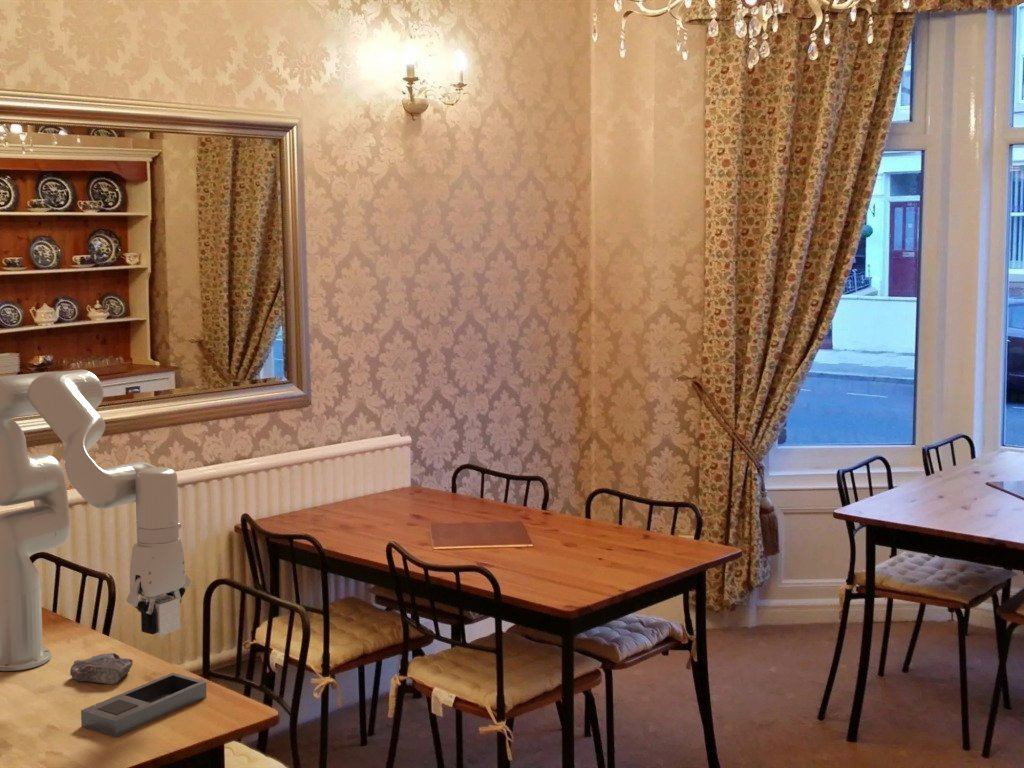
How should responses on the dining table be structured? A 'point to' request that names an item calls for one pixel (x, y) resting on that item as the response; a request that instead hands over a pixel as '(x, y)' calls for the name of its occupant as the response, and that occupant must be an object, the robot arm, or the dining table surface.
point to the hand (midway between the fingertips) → (160, 627)
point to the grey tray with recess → (143, 704)
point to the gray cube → (166, 614)
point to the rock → (101, 668)
